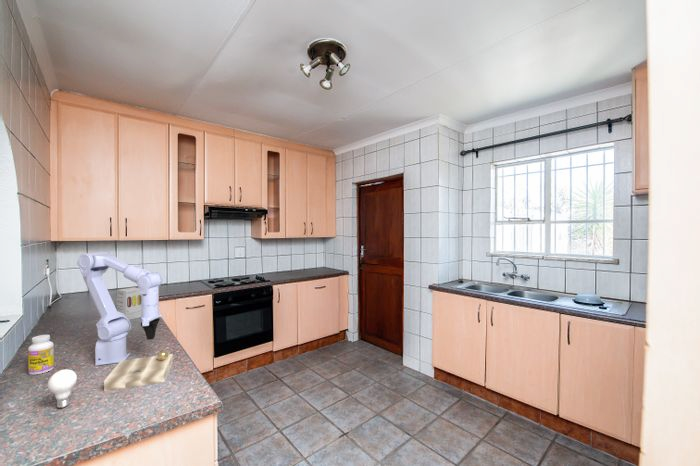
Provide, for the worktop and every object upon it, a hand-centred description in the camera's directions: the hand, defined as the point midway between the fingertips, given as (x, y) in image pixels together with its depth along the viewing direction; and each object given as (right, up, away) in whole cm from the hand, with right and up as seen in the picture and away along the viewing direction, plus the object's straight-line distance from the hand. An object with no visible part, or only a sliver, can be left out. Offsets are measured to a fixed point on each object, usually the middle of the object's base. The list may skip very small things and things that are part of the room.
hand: (150, 338), depth 120 cm
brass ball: (+8, -4, -5) cm, 11 cm away
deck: (+3, -10, -10) cm, 14 cm away
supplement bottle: (-36, -10, -7) cm, 38 cm away
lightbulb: (-7, -10, -29) cm, 32 cm away
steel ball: (+4, -8, -14) cm, 16 cm away
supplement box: (-50, -8, +58) cm, 77 cm away
